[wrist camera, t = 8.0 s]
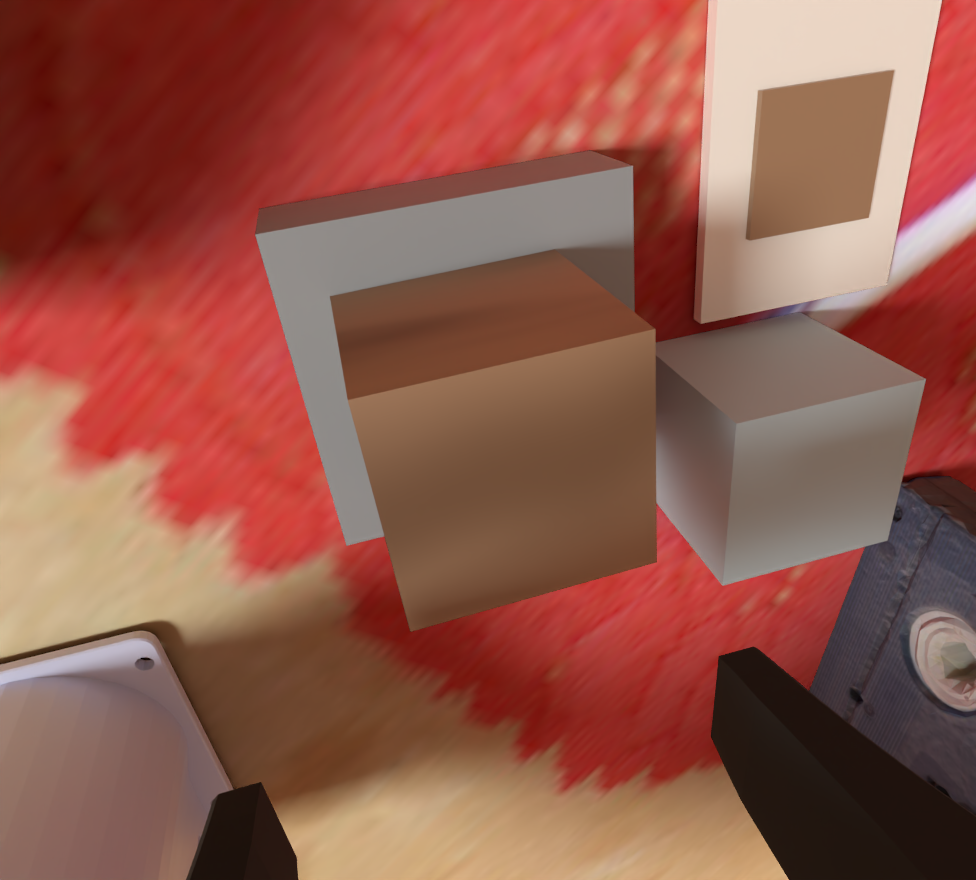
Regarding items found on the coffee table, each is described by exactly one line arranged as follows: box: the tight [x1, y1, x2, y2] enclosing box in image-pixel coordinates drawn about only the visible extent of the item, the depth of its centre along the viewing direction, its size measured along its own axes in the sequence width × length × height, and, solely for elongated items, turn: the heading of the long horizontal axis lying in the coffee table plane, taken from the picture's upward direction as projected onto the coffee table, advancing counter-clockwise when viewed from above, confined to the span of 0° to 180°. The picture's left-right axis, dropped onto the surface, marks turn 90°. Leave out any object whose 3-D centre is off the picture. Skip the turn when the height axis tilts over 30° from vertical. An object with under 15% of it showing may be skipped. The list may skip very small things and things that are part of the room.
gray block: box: [656, 312, 926, 586], centre depth 20 cm, size 5×5×5 cm
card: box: [694, 0, 942, 324], centre depth 18 cm, size 8×6×1 cm
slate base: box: [255, 150, 635, 545], centre depth 18 cm, size 8×8×3 cm
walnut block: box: [330, 249, 657, 632], centre depth 14 cm, size 5×5×5 cm
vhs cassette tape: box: [809, 476, 976, 815], centre depth 26 cm, size 18×3×10 cm, turn 176°
